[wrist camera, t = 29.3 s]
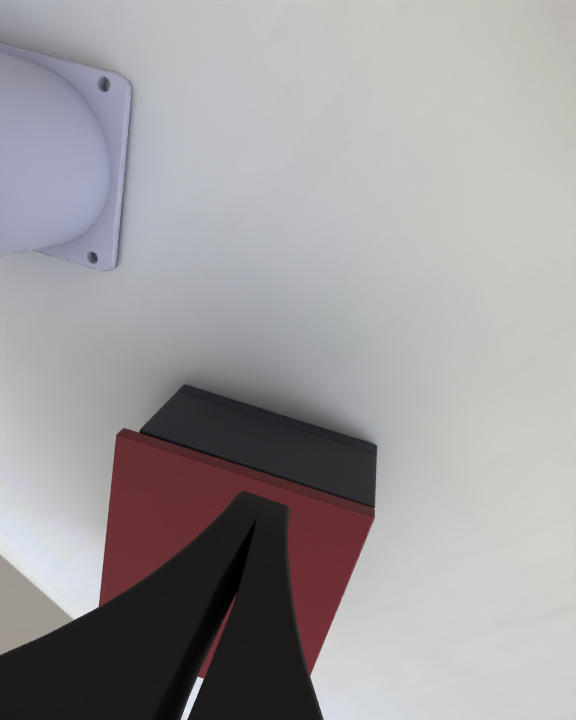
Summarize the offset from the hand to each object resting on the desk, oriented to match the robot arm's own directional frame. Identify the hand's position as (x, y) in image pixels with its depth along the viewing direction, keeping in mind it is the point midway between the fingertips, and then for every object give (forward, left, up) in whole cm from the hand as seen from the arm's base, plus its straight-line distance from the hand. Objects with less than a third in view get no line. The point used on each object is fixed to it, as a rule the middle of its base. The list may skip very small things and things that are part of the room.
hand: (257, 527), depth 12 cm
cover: (-1, -9, -6) cm, 11 cm away
